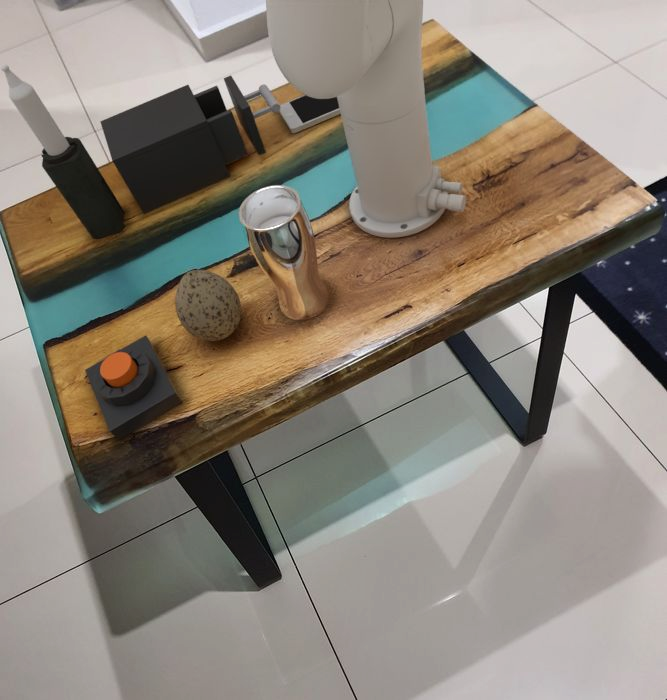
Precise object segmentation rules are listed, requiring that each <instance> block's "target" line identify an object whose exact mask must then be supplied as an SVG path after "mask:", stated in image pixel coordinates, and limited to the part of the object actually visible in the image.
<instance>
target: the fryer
mask: <svg viewBox="0 0 667 700" xmlns="http://www.w3.org/2000/svg"><path fill="white" fill-rule="evenodd" d="M194 95H195V94H194V93H193V90H192V89H191V87H190V85H189V84H186V85H183V86H181V87H179V88H176V89H174V90H172V91H169V92H167V93H164V94H162V95H160V96H158V97H154V98H151V100H148V101H145V102H143V103H141V104H138V105H136V106H133V107H131V108H129V109H126V110H124V111H121V112H119V113H116V114H114V115H112V116H109V117H108V118H106V119H102V120H100V125H101V128H102V131H103V135H104V139H105V141H106V145H107V148H108V151H109V154H110V158H111V160H112V163H113V165H114V166H115V168H116V170H117V171H118V173H119V175H120V176H121V178H122V180H123V181H124V183H125V185H126V186H127V188H128V190H129V191H130V193H131V195H132V197H133V198H134V200H135V202H136V204H137V206H138V207H139V208H140V210H141V212H142V214H143V215H144V214H147V213H149V212H152V211H154V210H156V209H159V208H162V207H163V206H166V205H168V204H170V203H172V202H174V201H177V200H179V199H182V198H184V197H186V196H188V195H191V194H193V193H195V192H198V191H200V190H202V189H205V188H207V187H210V186H212V185H214V184H217V183H219V182H221V181H223V180H225V179H228V178H230V177H231V175H230V172H229V170H228V168H227V165H225V163H224V160H223V158H222V156H221V153H220V151H219V149H218V146H217V144H216V141H215V139H214V137H213V134H212V132H211V129H210V127H209V125H208V122H207V120H206V118H205V116H204V114H203V112H202V110H201V108H200V106H199V104H198V102H197V100H196V99H195V97H194Z"/></svg>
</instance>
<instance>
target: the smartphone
mask: <svg viewBox="0 0 667 700" xmlns="http://www.w3.org/2000/svg"><path fill="white" fill-rule="evenodd" d="M279 105H280V111H279V112H278V114H279V115H280V116H281V118H282V120H283V121H284V123H285V125H286V127H287V128H288V129H289V131H290V132H291V134H297V133H299V132H301V131H304V130H306V129H308V128H310V127H313V126H316V125H318V124H320V123H323V122H324V121H327V120H329V119H331V118H334V117H336V116H339V115H341V113H340V109H339V104H338V100H337V97H334V98H329V99H316V98H312V97H309V96H307V95H304V94H302V95H301V96H299V97H296V98H293V99H291V100H289V101H287V102H284V103H281V104H279Z"/></svg>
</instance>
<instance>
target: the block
mask: <svg viewBox="0 0 667 700" xmlns="http://www.w3.org/2000/svg"><path fill="white" fill-rule="evenodd" d="M117 352H124V353H127V354H128V355H129V356H130V357H131V358H132V359H133V361H134V362H135V363H136V364H137V366H138V373H137V376H136V377H135V378H134V380H133V381H132V382H131V383H129V384H127V385H126V386H124V387H120V388H115V387H112V386H111V385H109V383H108V382H107V381H106V380H105V379H104V378H103V377H102V375H101V373H100V367H101V365H102V363H103V361H104V360H105V359H106V358H107V357H108V356H110V355H112V354H114V353H117ZM84 371H85V374H86V376H87V379H88V382H89V385H90V387H91V389H92V391H93V393H94V397H95V399H96V401H97V404H98V406H99V409H100V411H101V414H102V417H103V418H104V419H103V420H104V421H105V424H106V425H107V428H108V431H109V432H110V433H111V435H112V436H114V437H115V438H116V439H117V440H118V441H121V440H123V439H124V438H126V437H127V436H130V435H131V434H133V433H134V432H136V431H138V430H139V429H141V428H143V427H144V426H146V425H148V424H149V423H152V422H153V421H154V420H156V419H158V418H160V417H162V416H163V415H164V414H166V413H167V412H170V411H172V410H173V409H174V408H176V407H179V406H180V405H182V404H183V403H184V402H183V399H182V397H181V396H180V394H179V392H178V390H177V388H176V386H175V384H174V382H173V380H172V378H171V377H170V374H169V372H168V370H167V368H166V367H165V365H164V363H163V361H162V359H161V357H160V354H159V353H158V351H157V349H156V347H155V345H154V344H153V342H152V341H151V339H150V338H149V337H148V335H144V336H142V337H140V338H139V339H137V340H135V341H132V342H131V343H129V344H128V345H126V346H124V347H122V348H120V349H118V350H116V351H114V352H112V353H111V354H109V355H107V356H106V357H104V358H103V359H101V360H100V361H97V362H96V363H94V364H92V365H91V366H89V367H88V368H86V369H85V370H84Z"/></svg>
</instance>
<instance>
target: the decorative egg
mask: <svg viewBox="0 0 667 700" xmlns="http://www.w3.org/2000/svg"><path fill="white" fill-rule="evenodd" d="M174 305H175V312H176V316H177V318H178V321H179V322H180V324H181V326H182V327H183V328H184V329H185V331H187V332H188V333H189V334H190V335H191V336H192V337H195V338H196V339H199V340H201V341H205V342H217V341H218V342H219V341H221V340H224V339H226V338H228V337H230V336H231V335H232V334H233V333H234V332H235V331H236V329H237V328H238V326H239V325H240V322H241V318H242V303H241V299H240V296H239V295H238V292H237V291H236V289H235V288H234V287H233V286H232V284H231V283H230V282H228V280H227V279H225V278H223V276H221V275H219V274H218V273H215V272H213V271H210V270H207V269H206V270H205V269H192V270H189V271H187V272H186V273H185V274H184V275H183V276H182V278H181V279H180V281H179V282H178V284H177V287H176V293H175V297H174Z"/></svg>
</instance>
